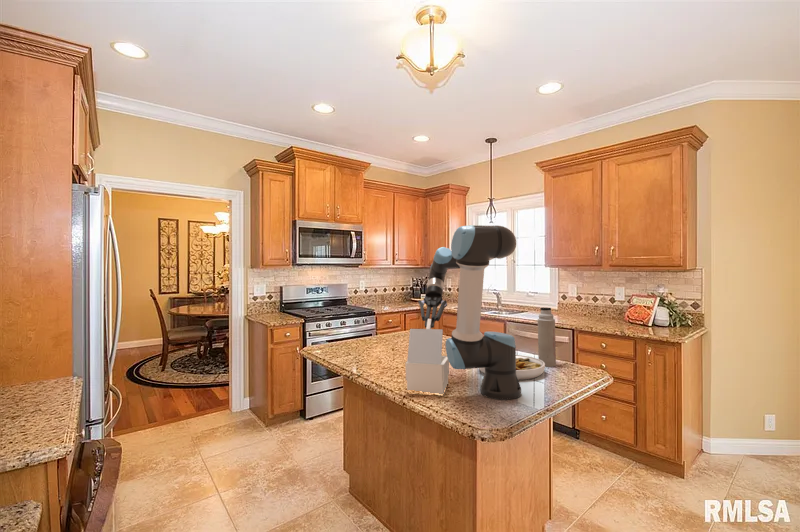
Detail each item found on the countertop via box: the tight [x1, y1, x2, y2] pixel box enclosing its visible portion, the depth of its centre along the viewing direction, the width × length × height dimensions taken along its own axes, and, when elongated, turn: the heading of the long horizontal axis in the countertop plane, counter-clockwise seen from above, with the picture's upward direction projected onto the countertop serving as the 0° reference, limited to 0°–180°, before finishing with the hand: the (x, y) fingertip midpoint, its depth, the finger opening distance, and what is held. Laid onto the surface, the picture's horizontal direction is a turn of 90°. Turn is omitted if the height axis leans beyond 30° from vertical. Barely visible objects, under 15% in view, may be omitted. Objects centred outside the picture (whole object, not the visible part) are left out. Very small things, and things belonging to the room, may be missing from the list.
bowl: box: [478, 354, 546, 381], centre depth 176 cm, size 30×30×8 cm
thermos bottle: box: [537, 307, 557, 368], centre depth 186 cm, size 8×8×28 cm
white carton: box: [404, 355, 450, 394], centre depth 154 cm, size 15×15×12 cm
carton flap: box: [406, 328, 444, 364], centre depth 149 cm, size 13×13×1 cm
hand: (428, 333), depth 157 cm, fingers closed
